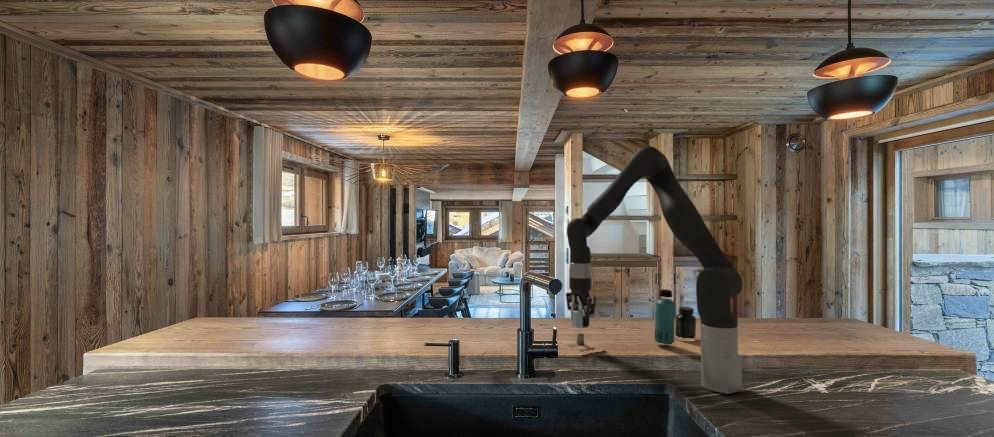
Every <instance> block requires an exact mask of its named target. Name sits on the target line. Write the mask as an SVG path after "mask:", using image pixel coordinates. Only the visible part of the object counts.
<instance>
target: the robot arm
mask: <svg viewBox="0 0 994 437" xmlns="http://www.w3.org/2000/svg"><path fill="white" fill-rule="evenodd" d="M642 178H645V179H646V181H647V182H649V184H650V186H651V187H652V188H653V190H654V191H655V193H656V195H657V198H658V201H659V205H660V209H661V213H662V215H663V218H664V220H665V221H666V224H667V226H668V228H669V229H670V231H671V233H672V234H673V235H674V237H675V238H676V239H677V240H678V241H679V243H681V244H682V245H683V246H684V247H686V249H687V250H689V251H690V252H691V253H692V255H693V256H695V257H696V259H697V260H698V262H699V263H700V265H701V267H702V268H703V269H702V270H701V271H700V272H699V273H698V275H697V277H696V282H695V292H696V293H695V294H696V295H695V296H696V309H697V314H698V316H699V319H700V320H699V321H700V384H701V386H702V387H703V388H704V389H706V390H709V391H712V392H715V393H716V392H717V393H721V394H722V393H723V394H726V395H729V394H733V393H737V392H741V391H743V377H742V376H743V374H742V373H743V364H742V363H743V361H742V360H743V358H742V355H741V354H739V336H738V335H739V334H738V333H739V332H738V330H739V328H738V327H739V325H738V322H739V321H738V320H739V319H738V316H737V315H736V314H735V313H733V312H732V308H731V299H733V298H735V297H738V296H739V295H740V293H741V292H742V289H743V280H742V277H741V275H740V273H739V271H738V270H737V268H736V267H735V266H734V264H733V263H732V262H731V260H730V259H729V258H728V257H727V255H726V254H725V253H724V252H723V250H722V249H721V247H720V246H719V245H718V243H717V241H716V238H715V237H714V236H713V235H712V232H711V231H710V230H709V228H708V226H707V224H706V223H705V221H704V219H703V217H702V216H701V214H700V213H699V210H698V209H697V208H696V205H695V204H694V203H693V202H692V200H691V198H690V197H689V195H688V193H686V191H685V190H684V189H683V187H682V186H681V185H680V183H679V181H678V180H677V178H676V175H675V174H674V171H673V169H672V167H671V164H670V161H669V159H668V158H667V156H666V155H665V154H664V153H663V152H661V151H660V150H659V149H657V148H656V147H653V146H651V145H646V146H643V147H640V148H638V149H637V150H636V152H634V154H633V155H632V156H631V157H630V159H629V160H628V161H627V162H626V164H625V166H624V167H623V168H622V170H621V171H620V172H619V174H618V175H617V176H616V177H615V178H614V180H613V181H612V182H611V183H610V184H609V185H608V186H607V188H606V189H604V190H603V192H602V193H600V195H599V196H598V197H596V198H595V199H594V200H593V201H592V202H591V203H590V204H589V205H588V206H587V208H586V209H587V210H586V212H585V213H584V214H583V215H582V216H581V217H578V218H577V217H575V218H573V219H571V220H570V221H569V222H568V224H567V228H566V236H567V240H568V241H567V243H568V247H569V270H568V272H569V275H568V276H569V277H568V280H569V281H568V282H569V283H568V284H569V286H568V288H569V290H570V291H571V292H566V293H565V299H566V306H567V307H566V308H567V310H568V311H570V312H571V314H572V313H573V310H582V314H583V327H587V328H589V326H590V316H592V315H594V314H595V307H596V302H597V299H596V297H592V296H591V295H590V291H591V290H592V266H591V265H592V264H591V262H592V261H591V259H592V258H591V248H590V246H588V242H587V240H588V239H587V238H589V237H591V235H592V234H594V233H595V232H596V230H597V229H598V228H599V227H600V225H601V224H602V223H603V222H604V221H606V219H607V218H609V216H610V215H611V214H613V213H614V212H615V211H616V209H617V208H618V207H619V206H620V205H621V204H622V202H623V201H624V199H625V197H626V195H627V194H628V192H629V191H630V190H631V188H632V187H633V186H634V185H635V184H636V183H637V182H638V181H640V180H641V179H642ZM585 310H586V312H585Z"/></svg>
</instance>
